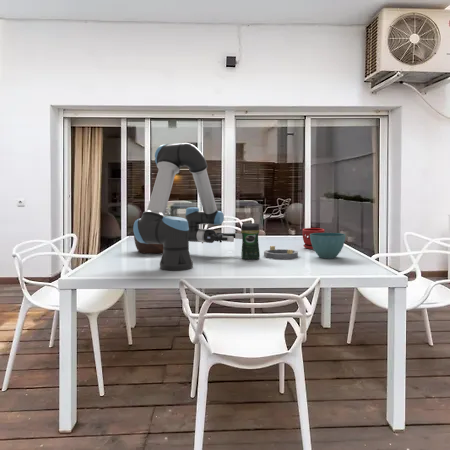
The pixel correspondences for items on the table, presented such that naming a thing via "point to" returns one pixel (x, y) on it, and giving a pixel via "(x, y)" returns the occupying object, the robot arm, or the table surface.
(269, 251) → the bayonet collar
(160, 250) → the wooden bowl
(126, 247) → the table surface
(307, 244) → the plant pot
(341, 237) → the plant pot
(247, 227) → the coffee jar
